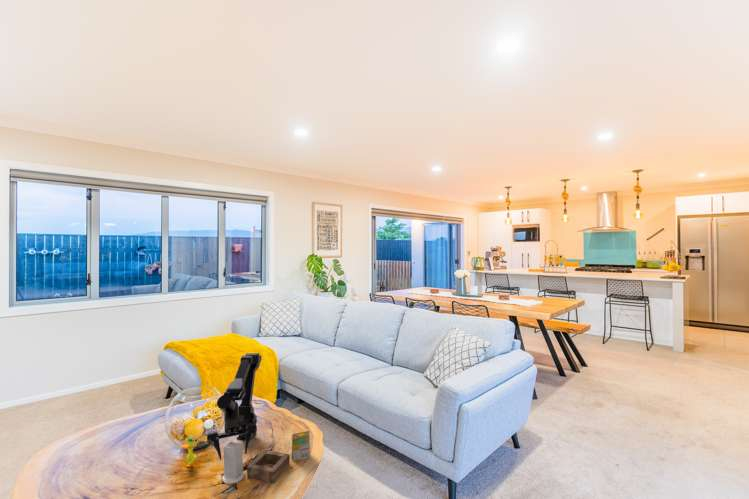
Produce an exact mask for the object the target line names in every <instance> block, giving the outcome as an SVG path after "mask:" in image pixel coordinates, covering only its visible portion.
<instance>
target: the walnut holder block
mask: <svg viewBox="0 0 749 499" xmlns="http://www.w3.org/2000/svg"><path fill="white" fill-rule="evenodd" d="M290 457H291V456H290V454H289V453H284V452H279V451H273V450H267V449H263V450H262V452H260V453H259V454H258V455H257V456H256V458H254V459H253V460H252V461H251V462H250V463H249V464H248V465H247V466H246V478H247V479H248V480H249V479H250V480H255V481H260V482H265V483H269V484H275V483H276V482H277V481H278V479H279V478H280V477H282V475H283V474H284V473H285V471H286V470H287V469H288V468H289V467H290V466H291V464H290V462H291V460H290V459H291V458H290ZM266 465H270V466H272V467H268V466H266Z"/></svg>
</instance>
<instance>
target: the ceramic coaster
mask: <svg viewBox="0 0 749 499" xmlns="http://www.w3.org/2000/svg"><path fill="white" fill-rule="evenodd" d="M244 477H245V472H244V470H243V474H242V475H241V476H240V477H239V478H238V479H236V480H235V479H231V478H227V477H224V475H222V482H223V483H224V484H226V485H233V483H234V484H236V483H239V482H240V481H241V480H243V479H244Z"/></svg>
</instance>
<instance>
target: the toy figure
mask: <svg viewBox="0 0 749 499" xmlns="http://www.w3.org/2000/svg"><path fill="white" fill-rule="evenodd" d="M193 438H194V437H193V436H189V437H188V439H187V443H186V444H182V445H180V446H179V448H180V449H181V450H187V452H188V454H187V456H186V462H187V464H186V466H185V468H187V467H189V468H192V467H193V465H194V464H193V463H194V461H195V460H196V458H197V455H195V453H193V450H194V449H195V445H194V439H193Z"/></svg>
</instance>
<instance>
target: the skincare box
mask: <svg viewBox="0 0 749 499" xmlns="http://www.w3.org/2000/svg"><path fill="white" fill-rule="evenodd" d="M243 448H244V447H243V443H237V442H233V441H230V442H228V443H227V444H226V445H224V446H223V476H224V477H227V478H231V479H235V480H236V479H238V478H239V477H240V476H241V475H242V474H243V471H244V463H243V462H244V458H243V457H244V456H243V452H244V451H243Z"/></svg>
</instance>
